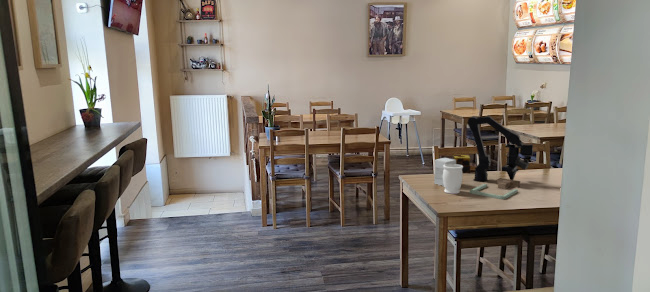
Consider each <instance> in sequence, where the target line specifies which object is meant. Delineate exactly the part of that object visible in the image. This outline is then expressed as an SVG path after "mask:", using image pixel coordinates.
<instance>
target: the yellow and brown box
mask: <svg viewBox="0 0 650 292" xmlns="http://www.w3.org/2000/svg"><path fill="white" fill-rule="evenodd" d="M460 155H461V156H454V155H453V159H454V160H456V164H458V165H462V166H463V168H462V173H463V174H465V173H466V174H471V164H470V163H471V157H470V155H468V154H460Z"/></svg>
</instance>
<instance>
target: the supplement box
mask: <svg viewBox="0 0 650 292" xmlns="http://www.w3.org/2000/svg"><path fill="white" fill-rule="evenodd" d="M445 164H456V160H454V158H448V157H442V158H441V157H440V158H438V159H434V180H433V181H434V183H433V184H434V185H436V184H438V185H437V186H440V185H442V186H441V187H444V184H443V170H444V168H443V165H445Z"/></svg>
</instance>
